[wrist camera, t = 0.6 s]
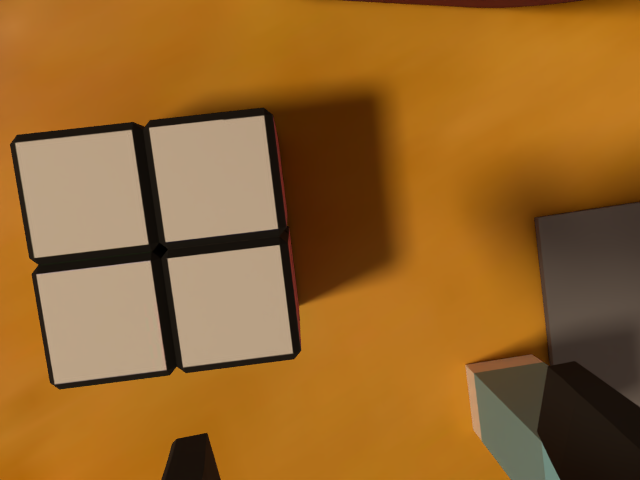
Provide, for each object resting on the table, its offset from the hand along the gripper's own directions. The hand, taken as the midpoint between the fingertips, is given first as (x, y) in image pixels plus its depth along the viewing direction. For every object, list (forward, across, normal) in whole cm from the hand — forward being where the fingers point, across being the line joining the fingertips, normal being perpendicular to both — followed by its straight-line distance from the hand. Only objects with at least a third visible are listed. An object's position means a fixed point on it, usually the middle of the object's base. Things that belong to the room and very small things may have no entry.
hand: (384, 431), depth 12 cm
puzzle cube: (+20, +5, +6) cm, 22 cm away
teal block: (+14, -11, +16) cm, 24 cm away
